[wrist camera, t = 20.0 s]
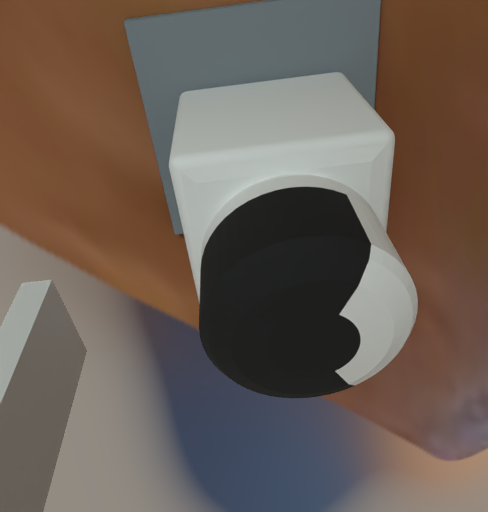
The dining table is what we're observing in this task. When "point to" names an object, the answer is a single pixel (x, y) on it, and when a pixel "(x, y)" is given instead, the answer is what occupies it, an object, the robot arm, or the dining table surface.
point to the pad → (246, 55)
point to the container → (291, 233)
